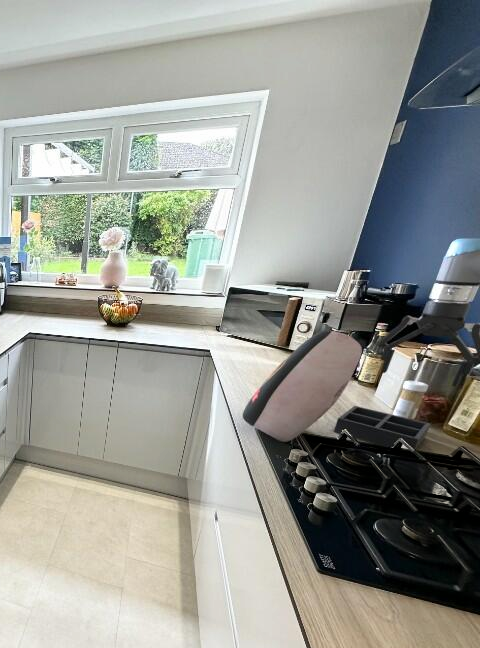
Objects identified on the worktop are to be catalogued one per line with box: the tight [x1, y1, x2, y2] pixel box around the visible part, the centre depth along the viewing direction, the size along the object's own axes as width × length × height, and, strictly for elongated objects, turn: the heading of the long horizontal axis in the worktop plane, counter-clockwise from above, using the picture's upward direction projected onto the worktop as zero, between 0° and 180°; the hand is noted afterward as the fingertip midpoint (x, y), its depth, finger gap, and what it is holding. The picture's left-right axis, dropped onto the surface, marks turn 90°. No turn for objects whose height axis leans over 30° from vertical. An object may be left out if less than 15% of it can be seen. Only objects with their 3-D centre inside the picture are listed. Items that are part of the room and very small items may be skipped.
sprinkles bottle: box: [392, 380, 429, 420], centre depth 113 cm, size 5×5×14 cm
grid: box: [333, 405, 431, 450], centre depth 109 cm, size 15×15×5 cm
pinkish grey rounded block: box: [242, 330, 363, 443], centre depth 106 cm, size 22×20×30 cm
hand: (417, 378), depth 111 cm, fingers open, 13 cm apart
